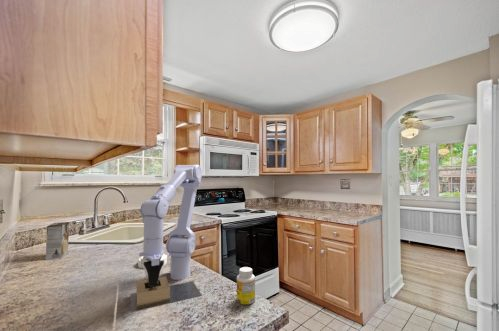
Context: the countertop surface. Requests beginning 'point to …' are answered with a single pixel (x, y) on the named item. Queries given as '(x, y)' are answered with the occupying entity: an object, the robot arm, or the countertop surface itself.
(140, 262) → the mooncake
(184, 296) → the clevis base
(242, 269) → the supplement bottle
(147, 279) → the steel pin
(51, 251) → the coffee box
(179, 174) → the robot arm
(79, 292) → the countertop surface
